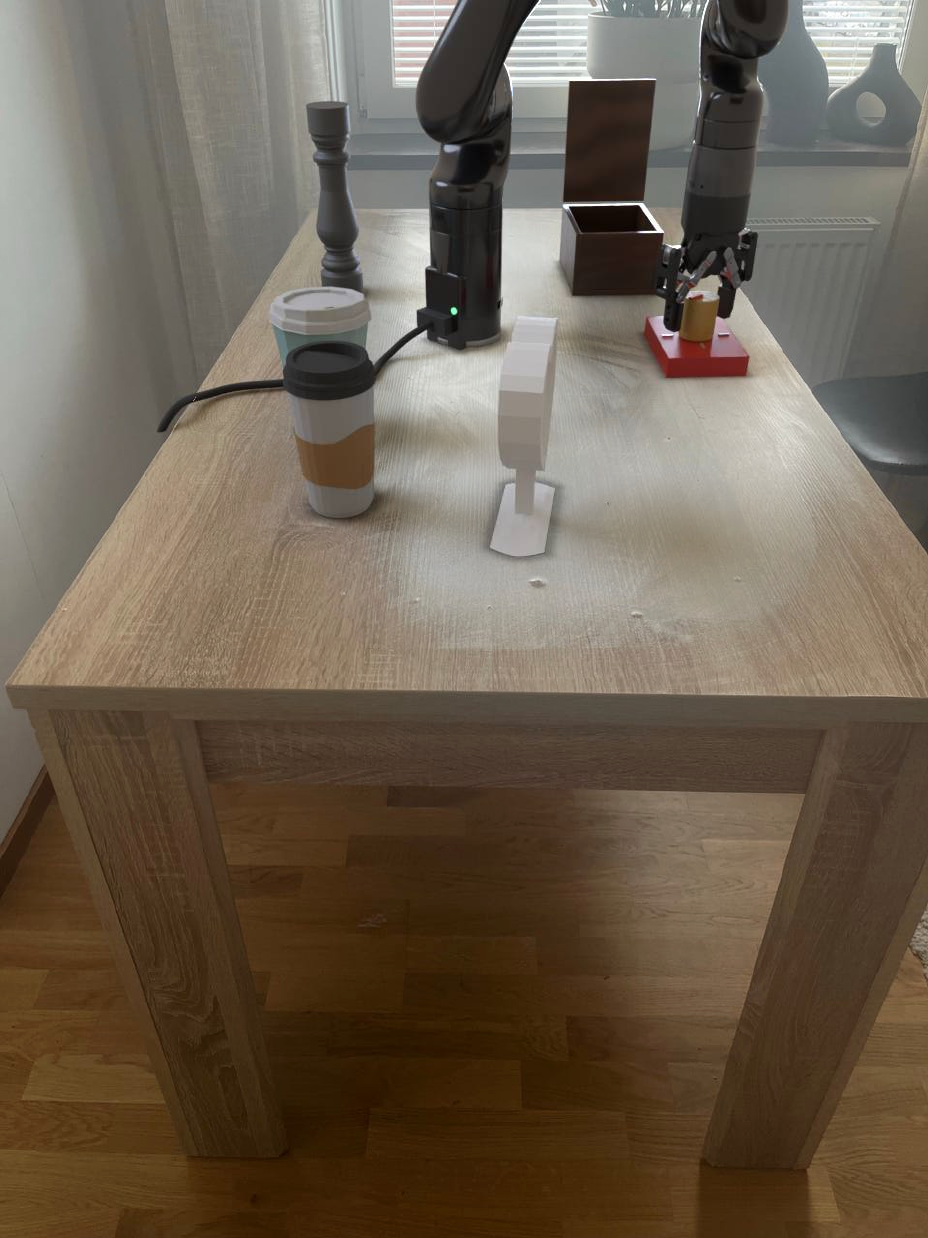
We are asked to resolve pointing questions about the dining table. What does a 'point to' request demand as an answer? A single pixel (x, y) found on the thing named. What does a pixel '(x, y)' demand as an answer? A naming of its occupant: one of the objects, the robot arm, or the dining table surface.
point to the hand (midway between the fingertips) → (697, 323)
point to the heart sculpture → (526, 435)
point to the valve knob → (699, 315)
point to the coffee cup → (333, 424)
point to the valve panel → (696, 351)
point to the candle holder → (335, 195)
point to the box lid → (607, 139)
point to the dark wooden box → (609, 249)
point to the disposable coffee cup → (319, 317)
